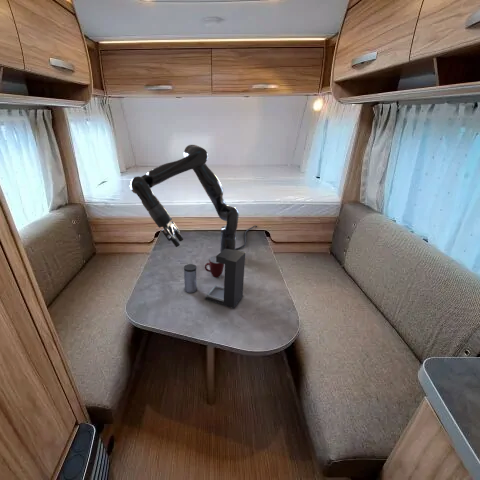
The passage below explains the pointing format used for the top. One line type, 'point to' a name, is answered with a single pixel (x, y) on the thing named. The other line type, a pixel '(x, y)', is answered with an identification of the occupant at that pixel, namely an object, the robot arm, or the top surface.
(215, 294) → the coffee maker
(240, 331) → the top surface
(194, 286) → the lidded canister
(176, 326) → the top surface
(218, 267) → the mug
